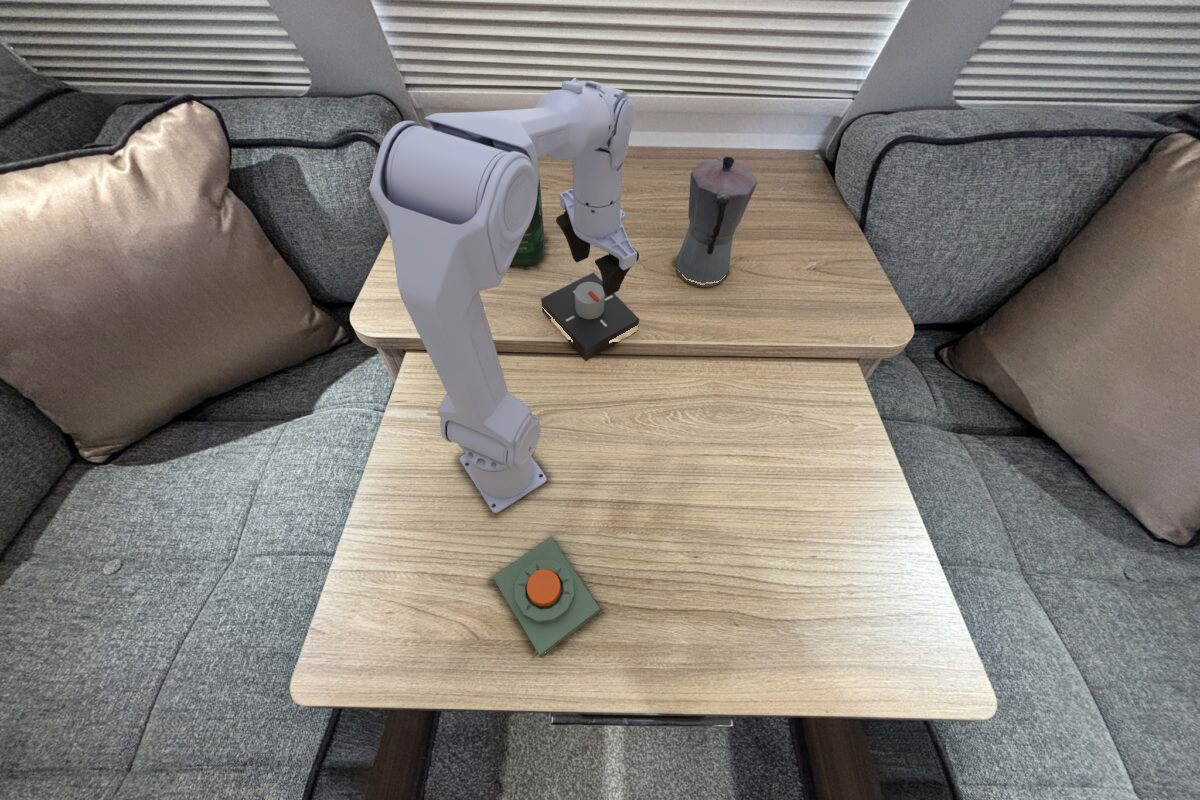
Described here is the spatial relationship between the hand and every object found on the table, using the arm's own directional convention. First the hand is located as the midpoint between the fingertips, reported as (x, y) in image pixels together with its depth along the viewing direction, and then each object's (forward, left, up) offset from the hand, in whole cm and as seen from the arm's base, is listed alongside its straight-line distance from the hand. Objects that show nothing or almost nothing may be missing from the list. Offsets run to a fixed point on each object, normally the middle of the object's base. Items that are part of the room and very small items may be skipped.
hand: (596, 275), depth 75 cm
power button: (+30, -29, -7) cm, 42 cm away
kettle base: (+30, -29, -10) cm, 43 cm away
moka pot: (+1, +21, -11) cm, 24 cm away
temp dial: (-1, -1, -7) cm, 7 cm away
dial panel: (-1, -1, -10) cm, 10 cm away
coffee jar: (-21, -1, -11) cm, 23 cm away
